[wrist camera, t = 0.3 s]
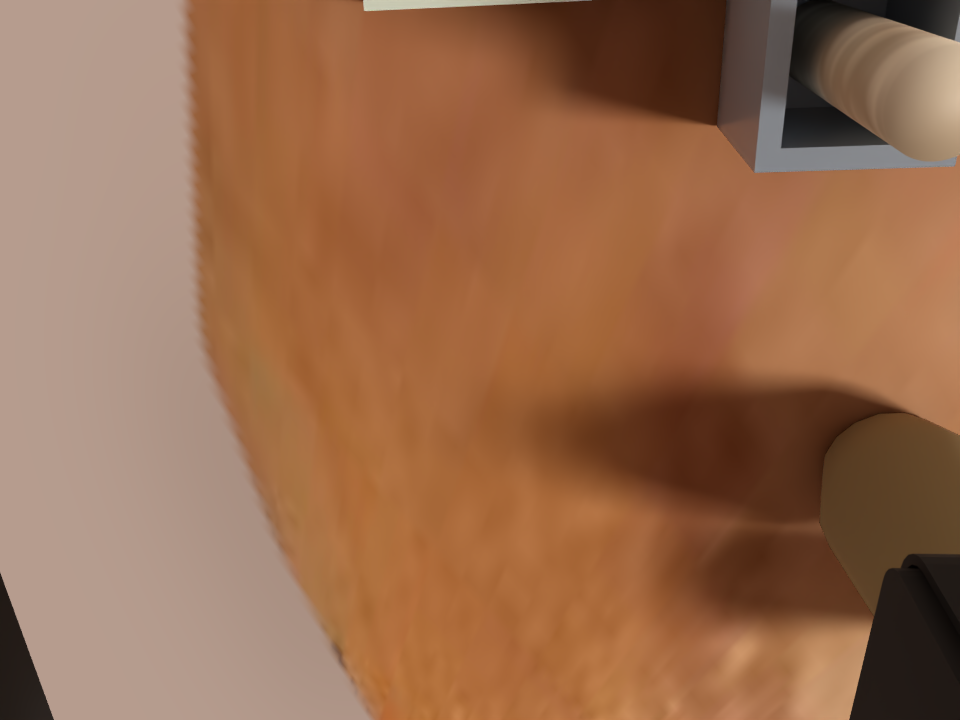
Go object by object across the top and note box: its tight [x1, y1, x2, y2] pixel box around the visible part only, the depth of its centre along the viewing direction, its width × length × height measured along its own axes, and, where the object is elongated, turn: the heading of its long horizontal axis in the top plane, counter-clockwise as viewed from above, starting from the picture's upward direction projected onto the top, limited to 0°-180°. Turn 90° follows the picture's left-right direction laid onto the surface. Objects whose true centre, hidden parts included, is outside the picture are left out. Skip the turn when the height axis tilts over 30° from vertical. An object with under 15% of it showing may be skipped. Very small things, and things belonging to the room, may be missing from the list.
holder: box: [717, 0, 960, 173], centre depth 31 cm, size 7×7×7 cm
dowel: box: [789, 0, 960, 162], centre depth 28 cm, size 3×3×12 cm
